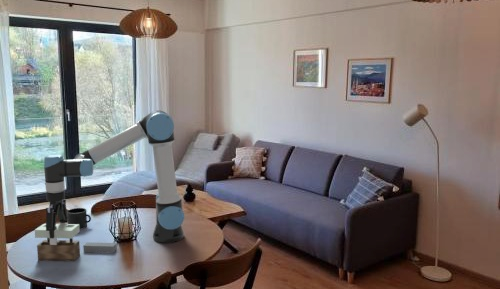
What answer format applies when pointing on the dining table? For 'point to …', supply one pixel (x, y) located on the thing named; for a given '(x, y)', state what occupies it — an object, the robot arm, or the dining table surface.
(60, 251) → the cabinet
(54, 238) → the robot arm
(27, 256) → the dining table surface
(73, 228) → the cream rectangular block
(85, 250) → the pad
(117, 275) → the dining table surface
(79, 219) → the mug
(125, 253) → the dining table surface
